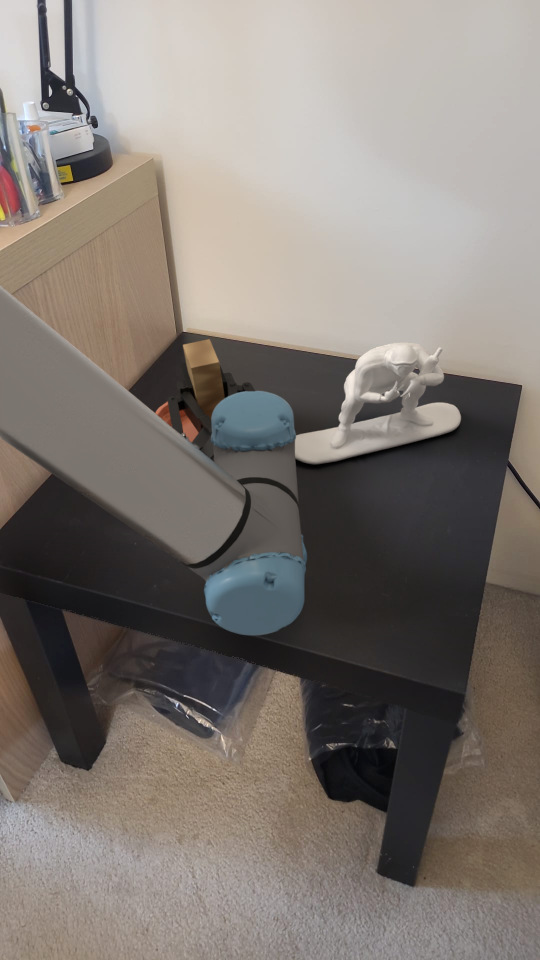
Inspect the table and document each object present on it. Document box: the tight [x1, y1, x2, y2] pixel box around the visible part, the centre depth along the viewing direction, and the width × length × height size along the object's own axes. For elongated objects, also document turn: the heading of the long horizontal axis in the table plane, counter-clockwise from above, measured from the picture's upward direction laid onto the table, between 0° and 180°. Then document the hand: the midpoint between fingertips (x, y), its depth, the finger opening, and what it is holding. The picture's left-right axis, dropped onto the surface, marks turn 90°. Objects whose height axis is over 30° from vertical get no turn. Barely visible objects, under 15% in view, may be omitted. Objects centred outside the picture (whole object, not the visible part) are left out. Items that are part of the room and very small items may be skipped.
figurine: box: [295, 341, 462, 465], centre depth 89 cm, size 26×13×17 cm, turn 109°
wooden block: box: [182, 338, 225, 418], centre depth 91 cm, size 4×6×13 cm, turn 15°
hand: (199, 368), depth 95 cm, fingers closed on wooden block, 4 cm apart
